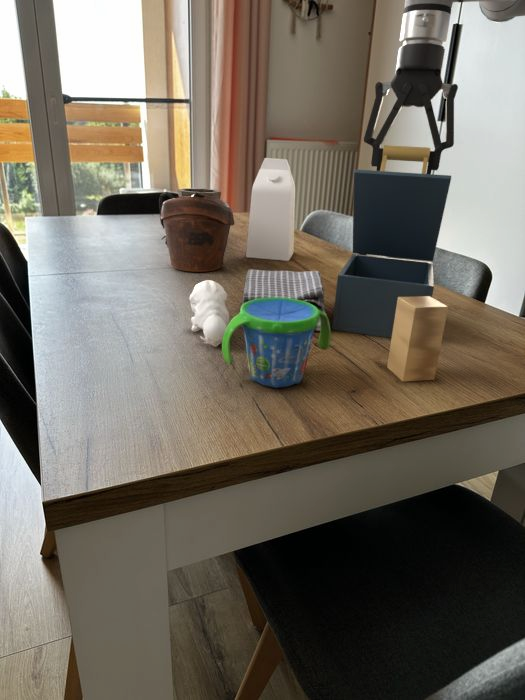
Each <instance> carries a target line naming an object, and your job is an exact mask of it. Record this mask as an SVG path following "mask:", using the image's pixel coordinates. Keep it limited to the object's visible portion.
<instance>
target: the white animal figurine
mask: <svg viewBox="0 0 525 700" xmlns="http://www.w3.org/2000/svg"><path fill="white" fill-rule="evenodd" d="M224 289H225V288H224V287H223V286H222V285H221V284H219V283H218V282H216V281H214V280H209V279H206V280H203V281H201V282H199V283H197V284H195V285H194V288H193V290H192V291H191V293H190V295H189V302H190V308H191V311H192V312H193V314H194V315H193V316H191V319H190V322H191V324H192V326H191V331H192V332H194V333H195V332H199V331H200V330H202V332H203V336H202V335H199V337H200V339H201V340H203V342H205V344H209V345H211V346H213V347H214V348H217V347H218V346H219V345H221V344H222V341H223V336H224V333H225V331H226V328H227V326H228V324H229V323H230V313H229V310H227V306H226V301H227V300H228V294H227V293H226V291H225V290H224Z"/></svg>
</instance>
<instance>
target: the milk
mask: <svg viewBox="0 0 525 700" xmlns="http://www.w3.org/2000/svg"><path fill="white" fill-rule="evenodd" d="M295 213H296V185H295V180H294V178H293V173H292V171H291V167H290V165H289V161H288V159H286V158H273V157H272V158H271V157H264V158H263V161H262V163H261V166H260V168H259V170H258V172H257V175H256V177H255V179H254V181H253V184H252V188H251V196H250V207H249V218H248V231H247V241H246V252H245V257H246V258H253V259H263V260H275V261H284V262H285V261H286V262H287V261H290V259H291V258H292V256H293V255H294V253H295V251H294V249H295V248H294V247H295V216H296V215H295Z"/></svg>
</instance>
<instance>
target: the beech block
mask: <svg viewBox="0 0 525 700" xmlns="http://www.w3.org/2000/svg"><path fill="white" fill-rule="evenodd" d="M448 310H449V306H448V305H446V304H444V303H442V302H441V301H438V299H435V298H433V297H432V298H431V297H430V296H418V297H398V300H397V306H396V313H395V319H394V326H393V332H392V338H390V346H389V353H388V359H387V366H386V368H387V369H388V370H389V371H391V372H392V374H393V375H394V376H396V377H397V378H398V379H399V380H400V381H401V382H403V383H404V382H419V381H421V382H422V381H434V380H435V379H436V374H437V373H436V372H437V367H438V361H439V357H440V352H441V347H442V341H443V336H444V332H445V326H446V320H447V316H448V312H449V311H448Z"/></svg>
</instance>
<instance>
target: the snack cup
mask: <svg viewBox="0 0 525 700" xmlns="http://www.w3.org/2000/svg"><path fill="white" fill-rule="evenodd" d="M319 316H320V317H321V326H320V331H319V336H318V341H317V344H318V347H319V349H321V350H323V351H326V350H328V349H329V347H330V345H331V339H332V338H331V337H332V335H331V333H332V332H331V324H330V320H329V317H328V315H327V316H326V315H325V314H324V313H323V312H321V311H320V310H318V308H317V307H315V306H314V305H312V304H310V303H308V302H304V301H301V300H296V299H290V298H276V297H275V298H274V297H273V298H260V299H255V300H251V301H248V302H246V303H244V304H243V305H242V304H241V306H240V310H239V313H238V314H236V315H235V316H234V317H233V318H231V320H229V323H228V324H227V328H226V331H225V333H224V336H223V341H222V343H221V352H222V356H223V358H224V360H225V362H226V363H227V364H228V365H232V364H233V360H232V352H231V351H232V350H231V339H232V336H233V334H234V333H235V332H236V331H237V330H238V329H239V327H240V326H242V329H243V333H244V342H245V349H246V358H247V367H248V372H249V376H250V378H251V380H252V381H253V382H256V383H258V384H260V385H263V386H265V387H271V388H275V389H278V388H287V387H290V386H293V385H297V384H300V383H301V381H302V379H303V378H304V376H305V372H306V369H307V364H308V360H309V355H310V352H311V347H312V343H313V339H314V332H315V330H314V329H315V327H316V326H317V324H318V322H319Z"/></svg>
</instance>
